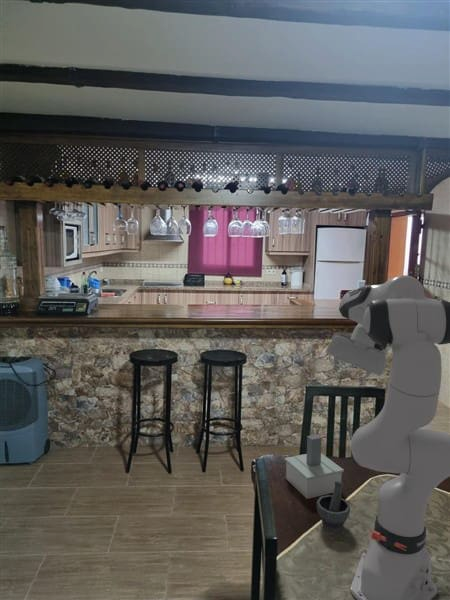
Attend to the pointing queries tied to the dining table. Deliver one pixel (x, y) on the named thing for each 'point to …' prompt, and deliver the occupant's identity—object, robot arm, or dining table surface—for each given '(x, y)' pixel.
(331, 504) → the mortar and pestle
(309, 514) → the dining table surface
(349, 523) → the dining table surface
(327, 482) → the tub
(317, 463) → the lid
